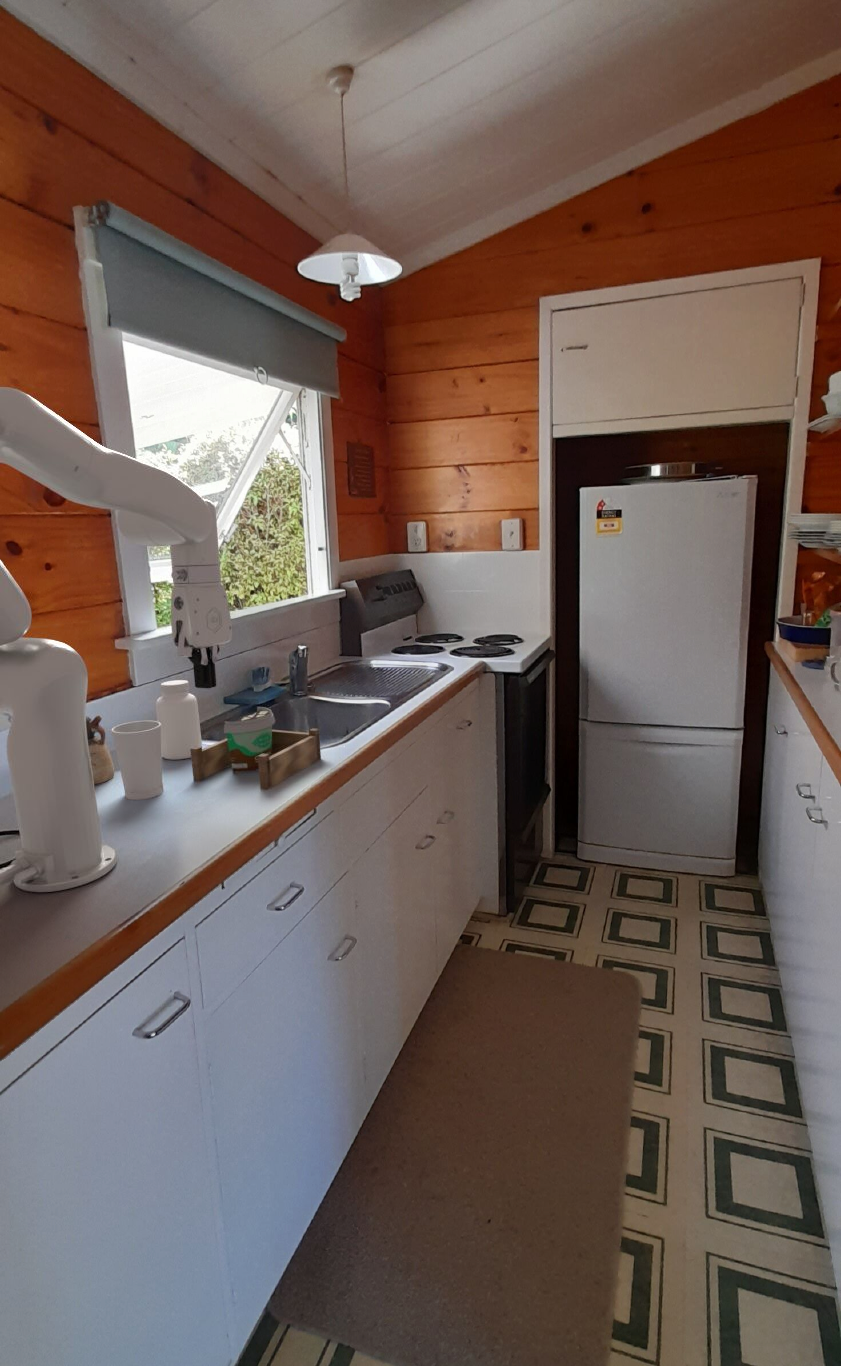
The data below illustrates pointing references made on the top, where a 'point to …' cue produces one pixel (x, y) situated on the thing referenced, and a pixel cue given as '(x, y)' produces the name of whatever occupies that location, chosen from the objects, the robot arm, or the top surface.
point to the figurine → (98, 752)
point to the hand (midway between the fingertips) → (205, 687)
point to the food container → (249, 739)
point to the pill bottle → (178, 720)
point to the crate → (263, 757)
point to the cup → (139, 758)
